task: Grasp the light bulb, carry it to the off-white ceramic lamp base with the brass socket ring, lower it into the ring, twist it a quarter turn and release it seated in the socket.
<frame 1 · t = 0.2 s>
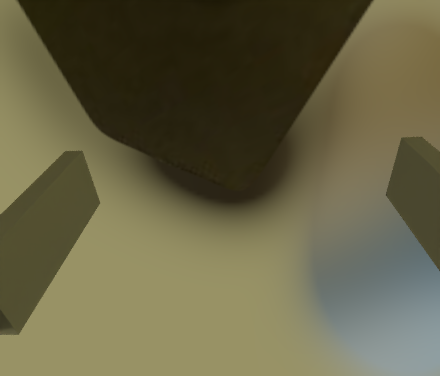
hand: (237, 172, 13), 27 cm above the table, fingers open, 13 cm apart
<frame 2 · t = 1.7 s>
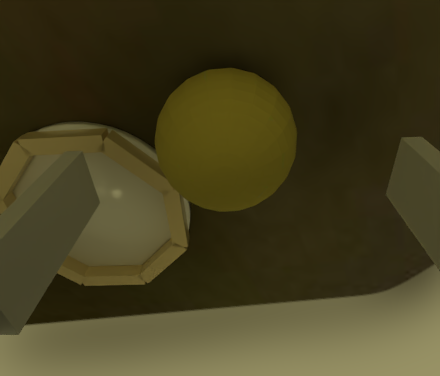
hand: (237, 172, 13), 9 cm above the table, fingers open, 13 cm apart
socket base: (100, 207, 26), on the table
light bulb: (226, 98, 21), on the table
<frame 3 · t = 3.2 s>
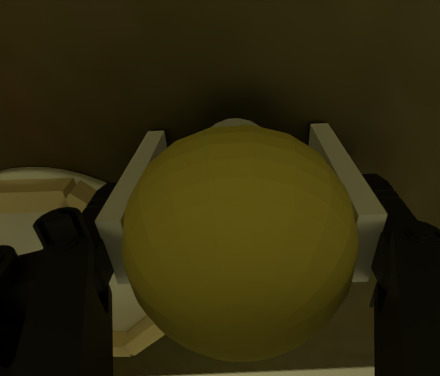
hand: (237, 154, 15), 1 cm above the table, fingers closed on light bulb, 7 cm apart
socket base: (73, 266, 20), on the table
light bulb: (235, 139, 15), on the table, touching gripper
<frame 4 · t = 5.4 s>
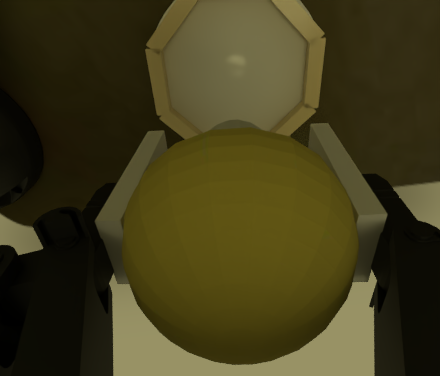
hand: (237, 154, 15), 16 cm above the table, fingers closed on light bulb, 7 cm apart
socket base: (234, 73, 28), on the table
light bulb: (235, 141, 15), point 15 cm above the table, touching gripper
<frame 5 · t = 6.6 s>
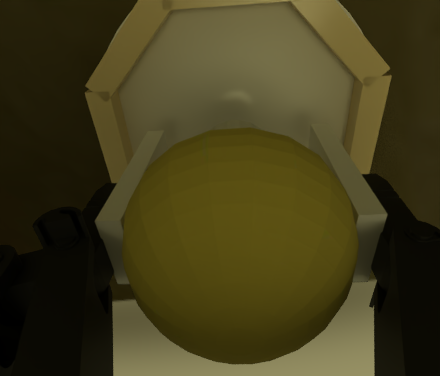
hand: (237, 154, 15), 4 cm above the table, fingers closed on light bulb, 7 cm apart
socket base: (235, 124, 18), on the table
light bulb: (235, 141, 15), point 3 cm above the table, touching gripper
when the fingers open (2 cm above the table, at t = 7.6 s): light bulb stays where it is, resting on socket base.
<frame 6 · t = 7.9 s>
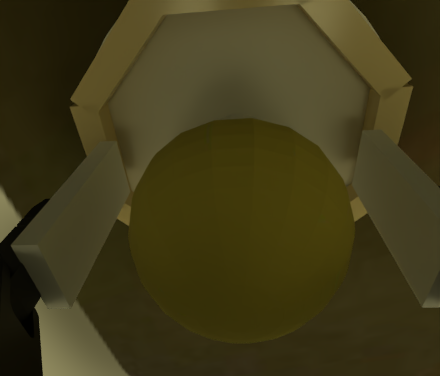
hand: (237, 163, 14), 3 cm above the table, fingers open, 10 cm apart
socket base: (236, 138, 16), on the table
light bulb: (238, 135, 15), point 1 cm above the table, touching socket base
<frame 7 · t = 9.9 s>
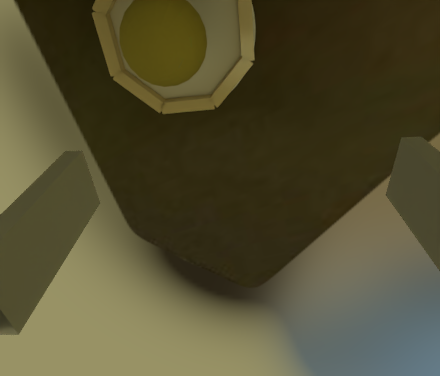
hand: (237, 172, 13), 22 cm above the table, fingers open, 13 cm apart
socket base: (178, 34, 31), on the table
light bulb: (177, 29, 30), point 1 cm above the table, touching socket base
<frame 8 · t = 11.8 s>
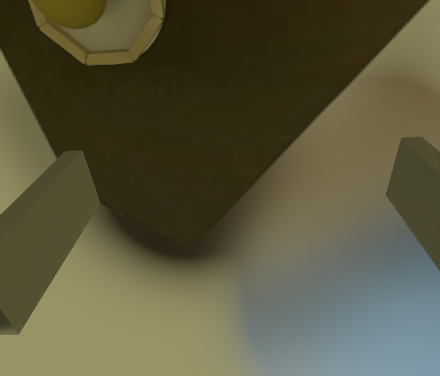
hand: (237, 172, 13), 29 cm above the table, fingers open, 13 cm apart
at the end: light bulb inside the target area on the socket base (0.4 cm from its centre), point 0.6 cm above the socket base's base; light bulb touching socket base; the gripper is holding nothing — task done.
